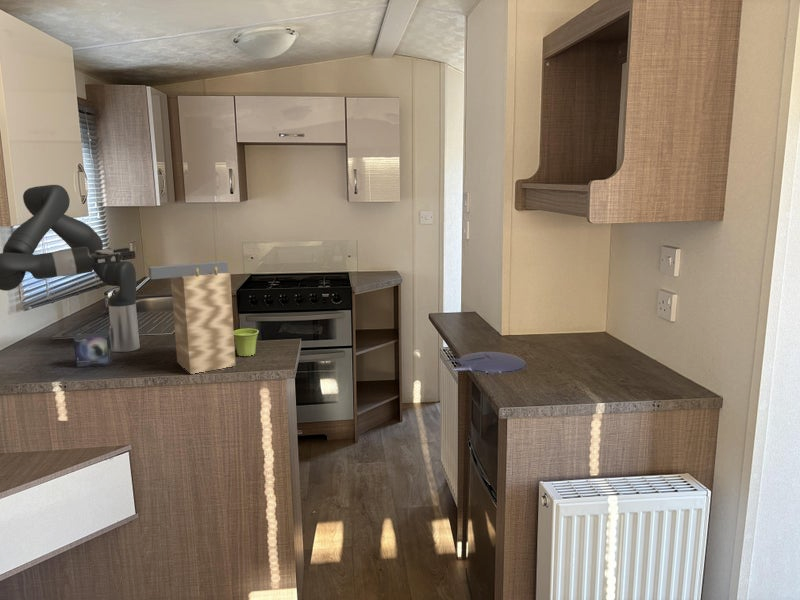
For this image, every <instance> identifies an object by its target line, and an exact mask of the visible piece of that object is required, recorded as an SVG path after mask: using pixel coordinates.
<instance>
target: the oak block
mask: <svg viewBox="0 0 800 600" xmlns="http://www.w3.org/2000/svg"><path fill="white" fill-rule="evenodd" d="M214 271H215V274H208V275H199V269H198V268H196V276H185V277H174V278H170V285H171V286H170V287H171V294H172V295H171V296H172V297H171V298H172V309H173V311H172V312H173V324H174V336H175V350H176V362H177V363H178V364H179V365H180V366H181V368H183V369H184V368H185V369H186V370H187V371H188V372H189V373H190V374H193V375H196V374H195V373H199V372H204V373H206V372H205V371H210V370H216V369H222V368H226V367H232V366H236V352H235V351H236V350H235V348H236V346H235V338H234V331H235V330H234V316H233V315H234V314H233V313H234V312H233V299H232V297H233V296H232V281H231V280H232V279H231V273H229V272H228V273H220V274H218V273H217V267H214ZM185 369H184V370H185ZM186 370H185V371H186ZM222 370H223V369H222ZM187 371H186V372H187ZM216 371H217V370H216ZM188 372H187V373H188ZM210 372H211V371H210ZM189 373H188V374H189ZM190 374H189V375H190ZM199 374H200V373H199Z"/></svg>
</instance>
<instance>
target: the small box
mask: <svg viewBox="0 0 800 600" xmlns="http://www.w3.org/2000/svg"><path fill="white" fill-rule="evenodd" d="M72 340H73V347H74V355H75V356H74V357H75V358H74V359H75V366H76V367H75V368H89V367H105V366H111V363H112V362H113V356H112V355H113V354H112V351H111V340H110V331H108V332H92V333H77V334H76V335H75V336H74V337H73V339H72Z"/></svg>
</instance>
